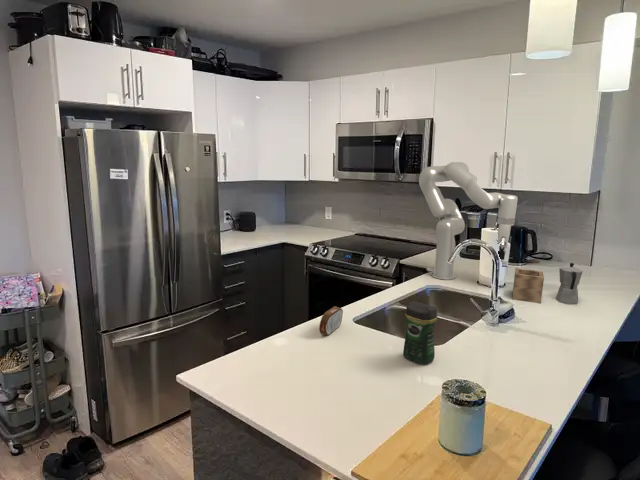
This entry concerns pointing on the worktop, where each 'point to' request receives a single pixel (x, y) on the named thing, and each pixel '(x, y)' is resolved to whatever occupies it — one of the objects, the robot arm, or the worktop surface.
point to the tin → (331, 320)
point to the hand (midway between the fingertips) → (500, 257)
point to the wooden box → (528, 285)
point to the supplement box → (506, 256)
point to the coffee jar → (420, 333)
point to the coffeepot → (569, 284)
